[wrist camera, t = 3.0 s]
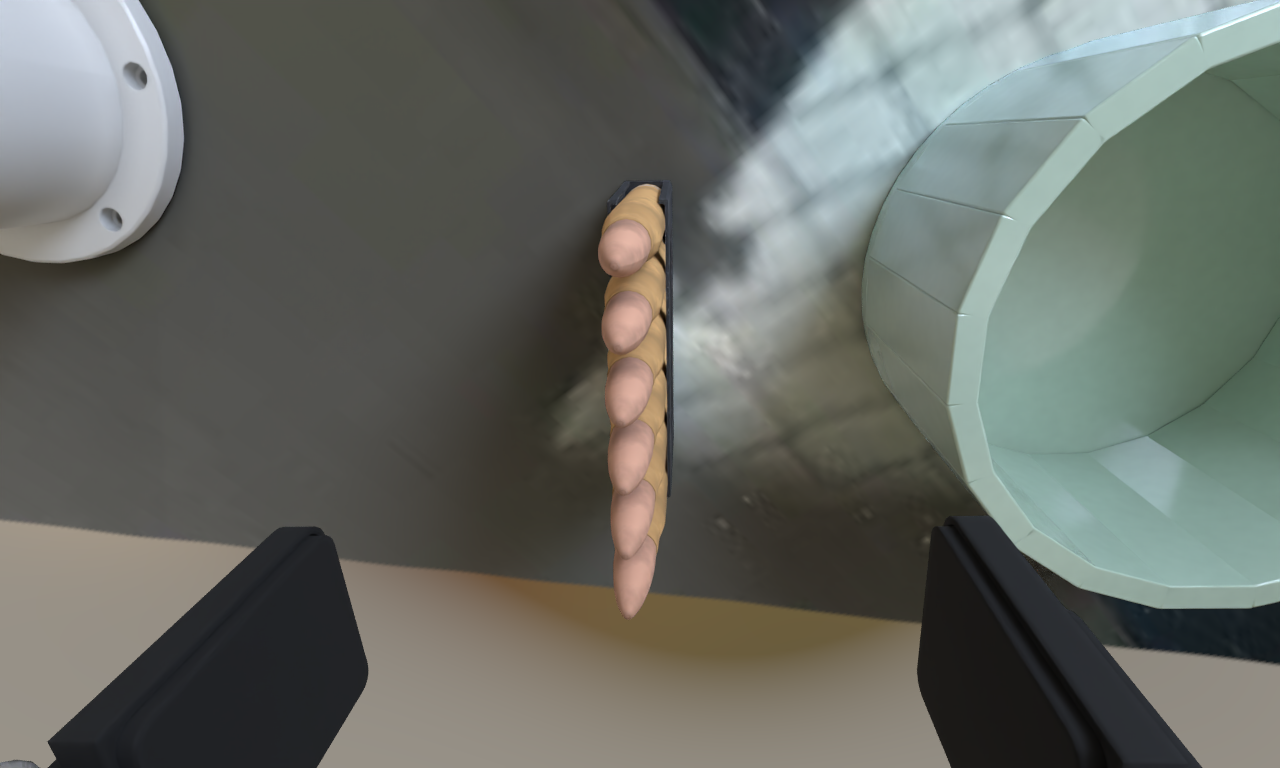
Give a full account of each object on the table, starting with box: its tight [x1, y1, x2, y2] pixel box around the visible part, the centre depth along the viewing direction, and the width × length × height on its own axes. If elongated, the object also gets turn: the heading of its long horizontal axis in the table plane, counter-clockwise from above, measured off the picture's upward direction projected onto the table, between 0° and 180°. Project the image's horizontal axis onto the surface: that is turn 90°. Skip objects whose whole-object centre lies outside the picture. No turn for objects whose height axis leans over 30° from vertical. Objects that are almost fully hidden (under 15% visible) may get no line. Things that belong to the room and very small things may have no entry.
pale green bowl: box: [862, 0, 1280, 609], centre depth 20 cm, size 16×16×9 cm
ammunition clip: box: [598, 180, 674, 619], centre depth 20 cm, size 11×2×12 cm, turn 1°
